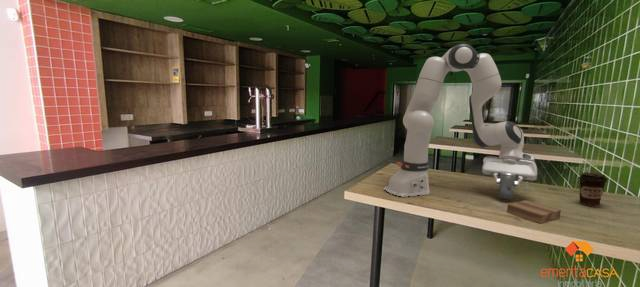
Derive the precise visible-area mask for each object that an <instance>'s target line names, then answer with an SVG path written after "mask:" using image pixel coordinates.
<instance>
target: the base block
mask: <svg viewBox="0 0 640 287" xmlns="http://www.w3.org/2000/svg"><path fill="white" fill-rule="evenodd" d="M506 206H507V207H506V212H507V213H509V214H512V215H514V216H517V217H521V218H523V219H526V220H529V221H531V222H534V223H538V224H545V223H547V222H550V221H554V220H556V219H560V218H561V210H562V209H559V208H556V207H555V208H554V207H552V206H549V205H545V204H541V203H539V202H534V201H531V200H528V199H524V200H521V201H516V202H514V203H509V204H507V205H506Z"/></svg>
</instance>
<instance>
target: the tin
mask: <svg viewBox="0 0 640 287" xmlns="http://www.w3.org/2000/svg"><path fill="white" fill-rule="evenodd" d="M515 176H516V174H515V173H511V172H503V171H502V172H501V174H500V176H499V179H500V184H498V195H497V196H498V197H500V198H504V199H513V198H514V192H515V186H514V184H515V181H516V178H515Z"/></svg>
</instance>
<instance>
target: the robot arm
mask: <svg viewBox="0 0 640 287" xmlns="http://www.w3.org/2000/svg"><path fill="white" fill-rule="evenodd" d="M423 64H424V65H423V66H422V68H421V71H420V72H419V76H418V78H417V81H416V85H415V87H414V91H413V94H412V97H411V99H410V101H409V103H408V105H407V107H406V110H405V113H404V115H403V116H402V117H403V118H402V125H403V126H404V127H405V129H406V130H407V131H406V137H405V142H404V147H403V148H404V150H403V160H402V162H401V161H397V163H396V166H397V167H400V169H398V171H396V172H395V173H394V174H392V175H391V177H390V178H389V181H388V185H387V186H384V187H383V191H384V190H386V191H387V192H389V193H391V194H390V195H392V194H394V195H397V196H396V197H398V196H401V197H400V198H408V196H410V197H418V196H417V195H420V196H429V195H431V189H430V185H429V183H430V182H429V174H428V172H429V171H428V170H429V166H430V165H429V164H430V162H429V144H430V141H431V137H432V132H433V128H434V126H435V121H434V117H433V116H432V115H431V111H432V109H433V108H434V106H435V104H436V103H437V101H438V99H439V96H440V93H441V91H442V87H443V84H444V81H445V78H446V76H447V74H448V73H450V74H451V73H457V72H461V71H464V72H467V74H468V76H469V78H470V82H471V85H472V92H471V94H470V95H469V98H468V99H469V100H468V103H469V104H468V105H469V106H468V107H469V113H470V114H469V115H470V120H471V126H472V127H471V128H472V141H473V143H474V144H475V145H476V146H478V147H480V148H482V149H483V148H487V147H488V148H489V147H491V146H497V145H500V149H499V154H498V156H491V155H488V156H485V157H483V160H482V163H483V164H482V169H481V171H482V174H484V175H490V176H493V179H494V180H495V184H497V185H499V184H500V178H498V177H500V174H501V172H502V171H503V172H511V173H515V174H516V176H515V179H517V180H515V184H514V187H517V188H518V187H519V185H520V184H521V183H522V181H523V180H525V181H531V182H532V181H536V180H537V178H538V167H537V164H536V162H535V157H534V155H531V154H528V153H525V152H523V149H524V146H525V134H524V131H523V129H522V128H520V126H519V125H517V124H516V123H515V122H513V121H510V120H507V121H506V120H505V121H501V122H497V123H492V124H488V125H485V124H484V118H483V111H482V110H483V109H482V108H483V106H484V104H485V103H486V102H488V101H489V100H491V99H492V98H493V97H494V96H496V95H497V94H498V93H499V92H500V90H501V88H502V78H501V74H500V72H499V69H498V67H497V65H496V63H495V61H494V58H493V57H492V56H491V55H490V54H489V53H485V52H481V53H479V52H478V51H477V50H476V49H475V48H474V47H472V46H471V45H470V44H467V43H460V44H456V45H454V46H453V47H451V48H449V49H448V50H447V51H446V52H445V53H444V54H443V55H441V57H440V56H431V57H428V58H427V59H426V60H425V63H423ZM386 191H385V192H386ZM387 192H386V193H387ZM389 193H388V194H389ZM394 195H393V196H394Z"/></svg>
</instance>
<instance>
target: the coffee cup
mask: <svg viewBox="0 0 640 287" xmlns="http://www.w3.org/2000/svg"><path fill="white" fill-rule="evenodd" d="M607 181H608V178H606V175H605V174H601V173H594V172H582V174H581V175H579V193H578V194H579V202H578V203H579V204H581V205H583V206H587V207H588V206H589V207H593V208H594V207H596V208H599V207H601V200H602V195H603V193H604V189H605V185H606V184H607V183H606V182H607Z"/></svg>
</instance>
